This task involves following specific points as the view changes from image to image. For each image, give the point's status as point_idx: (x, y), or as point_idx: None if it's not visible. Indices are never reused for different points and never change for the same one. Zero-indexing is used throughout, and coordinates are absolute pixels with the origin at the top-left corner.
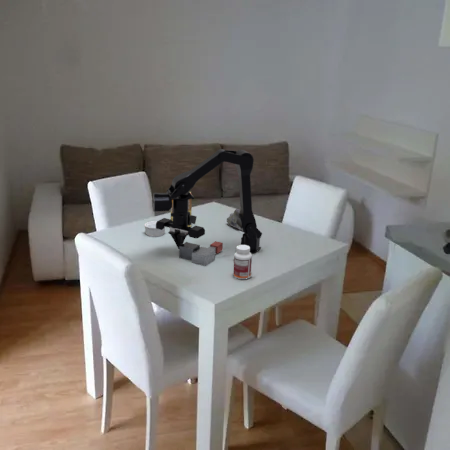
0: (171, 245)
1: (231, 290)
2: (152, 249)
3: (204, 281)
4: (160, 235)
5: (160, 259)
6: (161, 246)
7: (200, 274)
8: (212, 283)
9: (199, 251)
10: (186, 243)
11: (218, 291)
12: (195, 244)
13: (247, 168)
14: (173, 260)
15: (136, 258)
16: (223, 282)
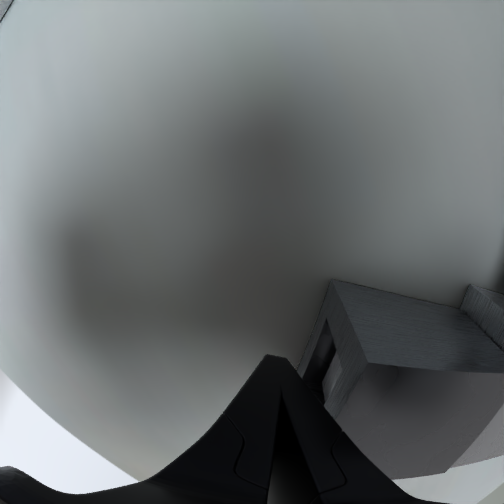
0: (99, 108)
1: (500, 479)
2: (22, 267)
3: (441, 493)
4: (3, 12)
5: (162, 421)
6: (39, 177)
7: (436, 474)
8: (463, 487)
9: (486, 431)
10: (377, 405)
11: (466, 500)
12: (489, 381)
13: None
14: None
15: (50, 410)
16: (497, 466)
